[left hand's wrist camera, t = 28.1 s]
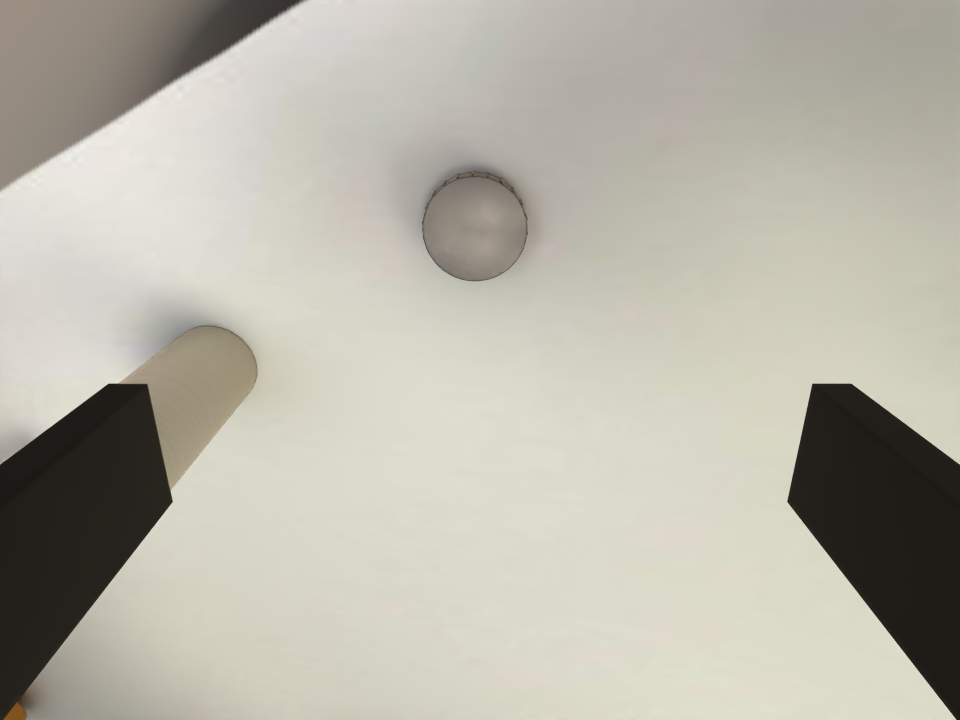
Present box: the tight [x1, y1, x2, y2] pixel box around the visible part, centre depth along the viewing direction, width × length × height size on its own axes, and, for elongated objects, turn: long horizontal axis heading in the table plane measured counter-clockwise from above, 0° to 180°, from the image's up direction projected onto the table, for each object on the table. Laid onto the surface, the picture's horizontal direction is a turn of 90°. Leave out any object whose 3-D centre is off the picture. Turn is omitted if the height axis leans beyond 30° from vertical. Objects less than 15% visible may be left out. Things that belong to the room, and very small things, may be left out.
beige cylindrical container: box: [118, 326, 257, 490], centre depth 33 cm, size 5×5×15 cm
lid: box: [422, 171, 528, 281], centre depth 36 cm, size 6×6×2 cm
